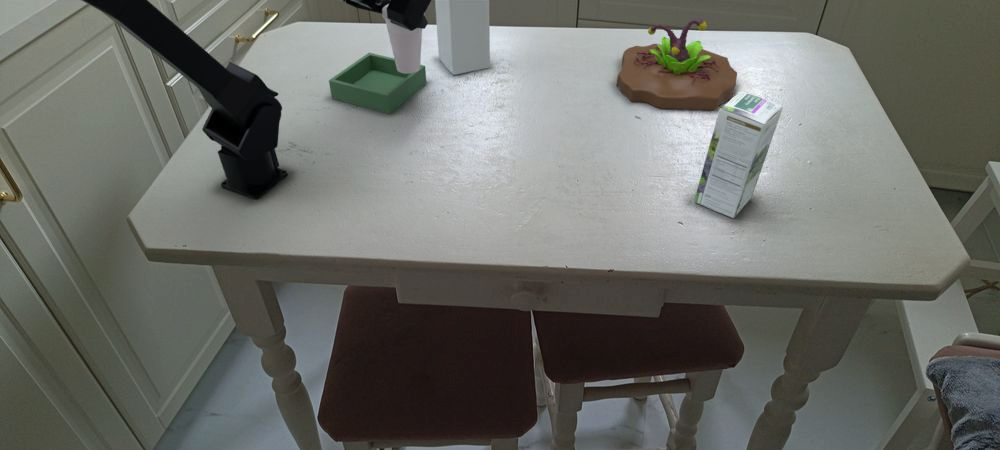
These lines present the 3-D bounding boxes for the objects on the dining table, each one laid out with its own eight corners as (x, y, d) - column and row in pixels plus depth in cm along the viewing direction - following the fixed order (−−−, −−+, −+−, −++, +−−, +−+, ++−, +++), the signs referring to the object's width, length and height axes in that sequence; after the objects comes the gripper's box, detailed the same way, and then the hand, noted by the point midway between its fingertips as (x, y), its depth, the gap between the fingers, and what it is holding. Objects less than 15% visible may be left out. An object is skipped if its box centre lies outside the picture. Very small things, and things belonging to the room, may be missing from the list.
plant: (735, 118, 101) (753, 52, 94) (611, 102, 105) (619, 37, 98) (733, 63, 116) (749, 2, 109) (625, 50, 120) (633, -10, 113)
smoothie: (432, 60, 104) (426, -28, 95) (424, 78, 99) (417, -12, 90) (393, 58, 105) (384, -30, 96) (383, 76, 100) (373, -14, 91)
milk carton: (438, 59, 117) (431, -49, 105) (474, 52, 119) (471, -55, 107) (453, 76, 112) (447, -36, 100) (490, 68, 114) (489, -42, 102)
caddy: (389, 114, 102) (387, 95, 100) (331, 98, 106) (328, 80, 104) (426, 83, 110) (425, 65, 108) (371, 69, 114) (369, 52, 112)
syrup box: (711, 182, 89) (737, 88, 79) (753, 199, 86) (784, 103, 76) (693, 202, 85) (717, 106, 76) (735, 220, 82) (766, 123, 73)
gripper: (418, -79, 79) (480, -13, 93) (328, -106, 89) (396, -42, 102) (375, 1, 80) (443, 55, 93) (290, -34, 90) (363, 20, 103)
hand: (411, 19), depth 98 cm, fingers closed on smoothie, 6 cm apart
